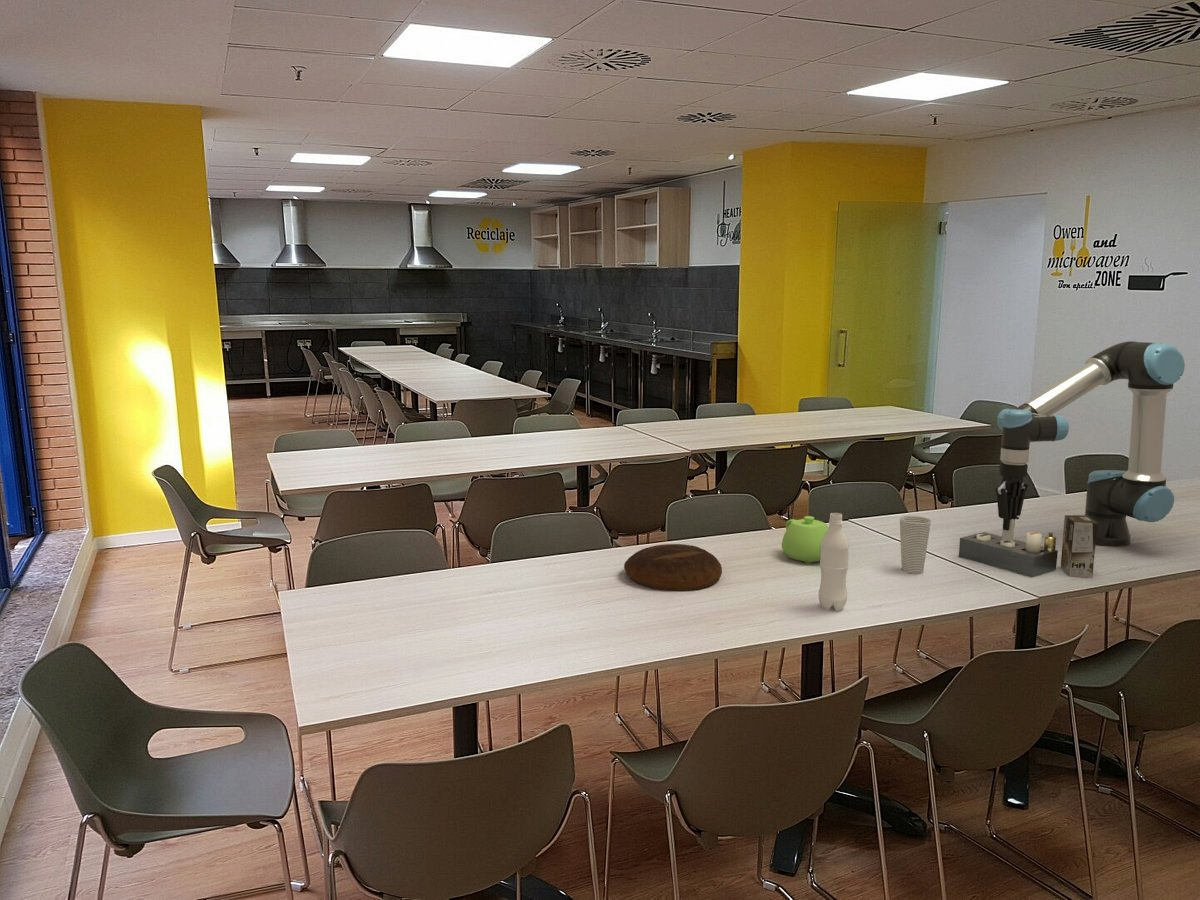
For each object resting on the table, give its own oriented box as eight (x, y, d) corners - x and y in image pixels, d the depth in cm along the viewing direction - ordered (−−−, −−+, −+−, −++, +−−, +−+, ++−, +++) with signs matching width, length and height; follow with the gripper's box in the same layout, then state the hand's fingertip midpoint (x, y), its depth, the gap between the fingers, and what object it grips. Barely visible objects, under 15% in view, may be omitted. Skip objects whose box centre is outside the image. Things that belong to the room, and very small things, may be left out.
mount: (982, 550, 281) (983, 531, 280) (1056, 570, 261) (1057, 550, 260) (958, 556, 275) (959, 537, 274) (1032, 577, 255) (1033, 557, 254)
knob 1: (980, 553, 277) (982, 532, 276) (992, 556, 274) (993, 535, 273) (972, 555, 275) (974, 534, 274) (984, 558, 272) (985, 537, 271)
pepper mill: (1047, 547, 263) (1048, 530, 262) (1057, 550, 260) (1058, 533, 259) (1041, 549, 261) (1042, 532, 260) (1051, 552, 259) (1052, 534, 258)
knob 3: (1030, 552, 263) (1031, 530, 262) (1043, 555, 260) (1044, 533, 259) (1022, 554, 261) (1023, 532, 260) (1034, 558, 258) (1036, 535, 257)
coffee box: (1093, 578, 254) (1098, 523, 251) (1068, 576, 256) (1073, 522, 253) (1083, 568, 263) (1088, 514, 260) (1059, 567, 264) (1064, 514, 261)
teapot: (855, 564, 269) (856, 521, 266) (819, 572, 261) (820, 529, 259) (802, 546, 287) (803, 507, 285) (767, 554, 279) (768, 513, 277)
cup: (927, 567, 264) (930, 517, 262) (928, 576, 257) (931, 524, 254) (897, 565, 267) (899, 514, 264) (896, 573, 259) (899, 522, 256)
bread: (608, 569, 266) (608, 541, 265) (687, 557, 278) (687, 530, 276) (654, 599, 241) (654, 568, 239) (739, 584, 252) (739, 554, 251)
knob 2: (1004, 559, 271) (1005, 538, 270) (1016, 563, 268) (1018, 541, 266) (996, 562, 269) (997, 540, 268) (1008, 565, 265) (1010, 543, 264)
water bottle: (814, 603, 236) (817, 511, 232) (840, 602, 237) (844, 510, 232) (823, 612, 229) (827, 518, 225) (850, 611, 230) (854, 517, 225)
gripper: (1015, 458, 269) (1009, 533, 273) (988, 462, 262) (982, 540, 267) (1038, 462, 263) (1032, 539, 267) (1012, 467, 256) (1006, 546, 260)
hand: (1007, 540), depth 267 cm, fingers closed
